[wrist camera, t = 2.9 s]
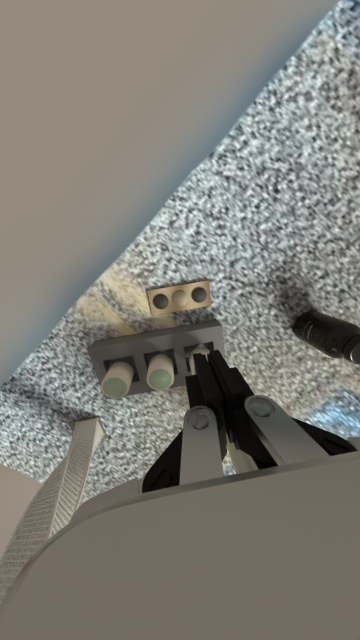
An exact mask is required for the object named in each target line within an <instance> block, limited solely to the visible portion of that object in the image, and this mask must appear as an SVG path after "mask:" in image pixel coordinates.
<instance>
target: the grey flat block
mask: <svg viewBox="0 0 360 640" xmlns="http://www.w3.org/2000/svg"><path fill="white" fill-rule="evenodd" d="M198 347H204V348H207V349H209V350H210V351H213V350H219V351H220V353H221V355H222V356H223V358H224V360H225V353H224V342H223V331H222V325H221V324H220V323H219V322H218V320H214V321H208V322H202V323H197V324H191V325H185V326H180V327H174V328H168V329H163V330H157V331H151V332H145V333H140V334H134V335H128V336H123V337H117V338H111V339H106V340H100V341H95V342H94V343H93V344H92V345H91V346H90V347H89V348H88V352H89V355H90V358H91V360H92V363H93V366H94V369H95V371H96V374H97V377H98V380H99V382H100V385H101V383H102V381H103V379H104V377H105V376H106V374H107V372H108V370H109V368H110V367H111V365H112V364H114V363H116V362H126V363H128V364H130V365H131V366H132V368H133V370H134V375H133V378H132V381H131V385H130V388H129V391H128V393H127V394H126V395H125V396H128V395H134V394H139V393H145V392H150V391H156V390H154V389H152V388H151V387H150V386H149V385H148V383H147V373H148V367H149V362H150V360H151V359H152V358H153V357H154V356H156V355H159V354H163V355H167V356H169V357H170V358H171V359H172V361H173V370H174V382H173V384H172V385H171V386H170V387H169V388H172V387H178V386H183V385H186V379H185V376H190V375H192V372H191V368H190V363H189V355H190V353H191V351H193V350H194V349H196V348H198ZM104 396H105V399H112V398H110V397H108V396H106V395H105V394H104Z"/></svg>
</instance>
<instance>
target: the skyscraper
mask: <svg viewBox="0 0 360 640" xmlns="http://www.w3.org/2000/svg"><path fill="white" fill-rule="evenodd" d="M69 425H70V427H71V429H72V431H73V436H72V439H71V443H70V446H69V450H68V453H67V455H66V457H65V458H64V459H63V460H62V461H61V463H60V464H59V465H58V466H57V467H56V469H55V470H54V471H53V472H52V473H51V475H50V476H49V477H48V478H47V480H46V481H45V482H44V484H43V485H42V486H41V488H40V489H39V491H38V492H37V494H36V495H35V497H34V498H33V500H32V501H31V503H30V504H29V506H28V507H27V509H26V511H25V513H24V514H23V516H22V518H21V520H20V521H19V523H18V525H17V527H16V529H15V531H14V533H13V534H12V537H11V538H10V541H9V542H8V545H7V547H6V549H5V551H4V553H3V555H2V557H1V560H0V604H1V603H2V601H3V599H4V597H5V596H6V594H7V592H8V591H9V589H10V587H11V586H12V584H13V582H14V581H15V579H16V578H17V576H18V575H19V573H20V572H21V570H22V569H23V567H24V566H25V565H26V563H27V562H28V561H29V559H30V558H31V557H32V555H33V554H34V553H35V552H36V551H37V550H38V549H39V548H40V547H41V546H42V545H43V544H44V543H45V542H46V541H47V540H48V539H49V538H51V537H52V536H53V535H54V534H55V533H57V532H58V531H59V530H60V529H62V528H63V527H65V526H66V525H67V524H69V521H70V519H71V518H72V516H73V514H74V513H75V511H76V510H77V509H78V506H79V503H80V500H81V497H82V494H83V490H84V487H85V483H86V479H87V475H88V471H89V467H90V462H91V457H92V455H93V453H94V451H95V450H96V448H97V446H98V445H99V443H100V441H101V440H102V439H107V435H106V433H105V430H104V428H103V426H102V424H101V422H100V420H99V417H98V416H96V417H92V418H87V419H82V420H78V421H73V422H70V423H69Z"/></svg>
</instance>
